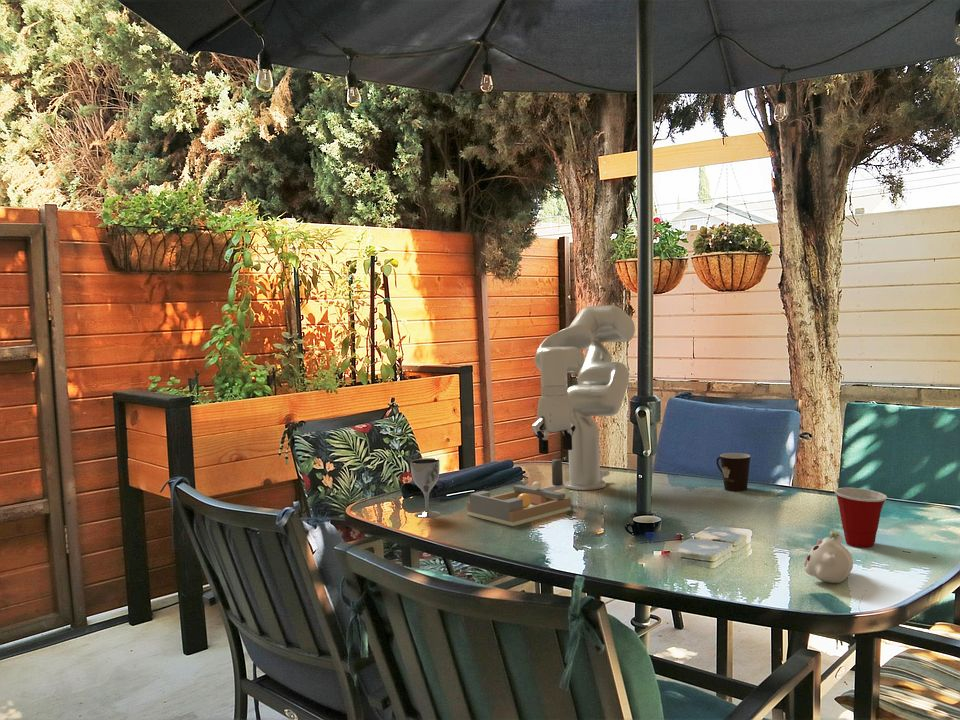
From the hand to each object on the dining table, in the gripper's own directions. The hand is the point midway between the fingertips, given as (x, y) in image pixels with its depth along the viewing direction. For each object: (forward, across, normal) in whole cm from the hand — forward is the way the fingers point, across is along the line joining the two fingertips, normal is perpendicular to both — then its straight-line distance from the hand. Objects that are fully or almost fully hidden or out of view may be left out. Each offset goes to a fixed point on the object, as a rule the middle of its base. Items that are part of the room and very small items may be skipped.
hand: (555, 451), depth 236 cm
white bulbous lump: (+16, +12, +86) cm, 88 cm away
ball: (+12, +13, 0) cm, 18 cm away
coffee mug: (+14, -47, +28) cm, 57 cm away
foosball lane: (+15, +15, 0) cm, 21 cm away
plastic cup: (+15, -15, +80) cm, 83 cm away
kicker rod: (+13, +3, 0) cm, 14 cm away
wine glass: (+16, +33, -18) cm, 41 cm away
